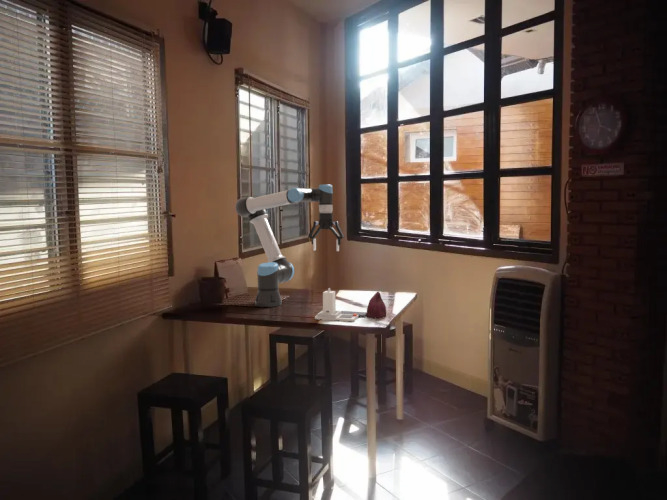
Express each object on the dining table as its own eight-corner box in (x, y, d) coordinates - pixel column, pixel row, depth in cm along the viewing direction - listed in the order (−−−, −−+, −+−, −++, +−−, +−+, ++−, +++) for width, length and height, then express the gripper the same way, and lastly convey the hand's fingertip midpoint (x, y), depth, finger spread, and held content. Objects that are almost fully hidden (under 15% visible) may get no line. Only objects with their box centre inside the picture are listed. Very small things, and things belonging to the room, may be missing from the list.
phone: (364, 317, 258) (364, 315, 258) (338, 315, 262) (338, 313, 262) (368, 314, 264) (368, 312, 264) (342, 312, 269) (342, 310, 268)
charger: (322, 316, 256) (322, 288, 254) (326, 313, 261) (325, 287, 259) (332, 316, 254) (332, 289, 253) (335, 314, 259) (335, 287, 258)
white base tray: (314, 319, 255) (314, 313, 254) (321, 314, 264) (321, 309, 264) (353, 321, 249) (353, 316, 248) (358, 317, 258) (358, 312, 258)
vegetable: (387, 324, 257) (392, 297, 252) (366, 322, 256) (371, 295, 251) (384, 314, 267) (389, 288, 262) (364, 312, 266) (369, 286, 261)
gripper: (302, 212, 283) (302, 250, 285) (345, 212, 276) (345, 251, 278) (307, 212, 290) (307, 249, 292) (349, 212, 283) (349, 250, 285)
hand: (326, 250), depth 285 cm, fingers open, 13 cm apart
